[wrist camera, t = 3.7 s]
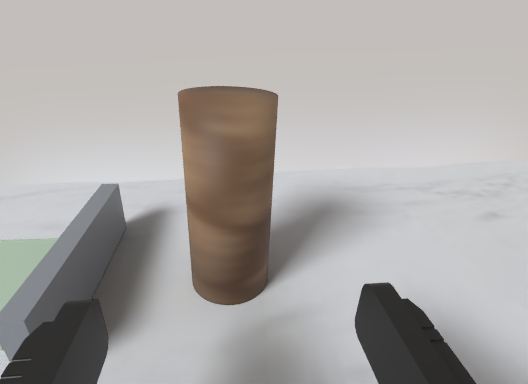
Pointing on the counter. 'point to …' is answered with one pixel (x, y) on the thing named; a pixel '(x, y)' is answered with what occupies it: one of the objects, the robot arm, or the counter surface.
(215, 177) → the walnut canister
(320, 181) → the counter surface
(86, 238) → the low wall
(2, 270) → the pad
